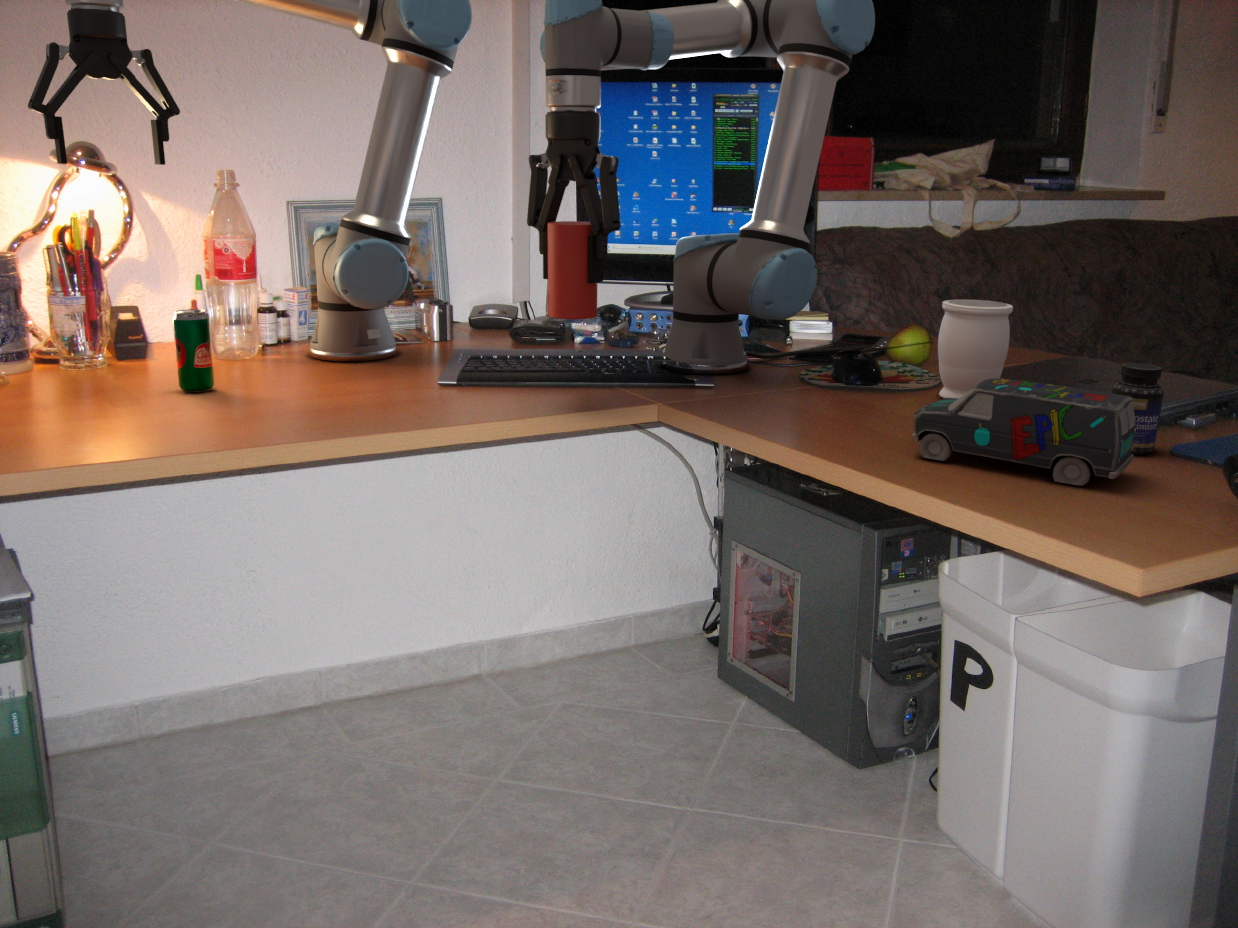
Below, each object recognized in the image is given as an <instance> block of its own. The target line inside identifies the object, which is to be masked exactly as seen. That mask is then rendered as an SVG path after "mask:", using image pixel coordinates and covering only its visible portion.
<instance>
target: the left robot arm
mask: <svg viewBox="0 0 1238 928" xmlns="http://www.w3.org/2000/svg"><path fill="white" fill-rule="evenodd" d="M232 1H234V2H237V3H241V4H245V5H249V6H253V7H257V8H261V9H265V10H269V11H272V12H276V13H280V14H284V15H287V16H292V17H296V18H301V19H304V20H308V21H311V22H316V23H319V24H324V25H328V26H331V27H336V28H339V29H343V30H346V31H350V32H351V33H352V35H353V36H354V37H355V39H357V40H360V41H365V42H368V43H372V44H374V45H379V46H381V47H380V52H381V53H382V55H383V57H384V59H385V61H386V63H387V66H386V69H385V73H384V77H383V81H382V85H381V89H380V95H379V99H378V102H377V107H376V112H375V115H374V120H373V125H372V129H371V133H370V137H369V141H368V145H367V150H366V154H365V159H364V163H363V166H362V170H361V175H360V179H359V184H358V187H357V192H356V196H355V201H354V205H353V208H352V210H351V211H349V212H347V213H346V214H344V215H342V216H341V219H340V222H339V224H331V225H330V224H329V225H322V226H318V227H316V229H315V230H314V232H313V243H312V246H313V248H314V264H315V265H314V266H315V279H316V297H317V310H318V311H317V316H316V321H315V323H314V327H313V331H312V335H311V338H310V342H309V355H310V356H311V357H312V358H314V359H317V360H323V361H331V362H366V361H376V360H382V359H387V358H390V357H394V356H395V355H396V354H397V344H396V339H395V337H394V333H393V331H392V329H391V325H390V323H389V320H388V317H387V314H386V311H385V308H386V307H388V306H390V305H392V304H394V303H395V302H396V301H397V300H398V299H399V298H400V297H401V296H402V295H403V293H404V292H405V290H406V288H407V285H408V282H409V273H410V272H409V265H408V261H407V255H408V252H409V247H410V244H411V239H412V235H411V234H410V232H409V230H408V228H407V226H406V222H407V217H408V214H409V213H408V212H409V209H410V204H411V200H412V195H413V192H414V188H415V184H416V180H417V174H418V171H419V167H420V163H421V159H422V156H423V151H424V147H425V143H426V139H427V135H428V131H429V126H430V122H431V118H432V113H433V110H434V107H435V102H436V98H437V93H438V89H439V86H440V82H441V80H442V79H444V78H446V77H447V76H449V75H451V74H452V72H453V68H454V64H455V60H456V58H457V57H456V56H457V52H458V49H459V46H460V45H461V44H462V43H463V42H464V41H465V39H466V38H467V36H468V34H469V32H470V30H471V26H472V22H473V11H472V5H471V2H470V0H232ZM65 5H67V7H70V9H68V10H67V12H66V18H67V26H68V36H69V44H68V45H63V44H58V43H57V42H56V41H54V42H49V43H47V44H46V45H45V61H44V64H43V66H42V69H41V70H40V73H39V76H38V78H37V81H36V83H35V86H34V88H33V91H32V93H31V95H30V98H29V100H28V103H27V108H28V109H29V110H30V111H33V112H36V113H39V114H41V115H42V117H43V121H44V129H45V136H46V138H47V140H54V147H55V155H56V164H57V165H59V164H60V165H68V158H67V157H68V156H67V149H66V141H65V134H64V133H65V132H64V125H63V117H62V116H60V115H59V116H56V113H57V112H58V111H59V110H60V108H61V107H62V106H63V104H64V103H65V102H66V101H67V100H68V99H69V97H70V95H71V94H72V93H73V92H74V91H75V89H76V88H77V86H78V85H79V84H80V83H81V82H82V80H84V79H85V77H87V78H89V80H90V79H91V80H98V79H104V80H110V81H114V80H117V79H119V80H120V81H121V82H123V84H125V85H126V86H127V88H128V89H129V90H130V91H131V92H132V94H134V95H135V96H136V98H138V100H139V101H140V102H141V103H142V104H143V105H144V106H145V108H147V109H148V110H149V112H151V114H152V115H153V116H154V117H155V118H156V119H150V129H151V137H152V138H151V139H152V148H153V157H154V165H158V166H159V165H161V166H165V165H166V157H165V146H164V142H166V143H168V142H169V141H170V129H169V120H170V119H171V118H172V117H176V116H178V115H180V114H181V109H180V108H179V106H178V104H177V103H176V100H175V99H174V97H173V95H172V93H171V92H170V90H169V89H168V87H167V84H166V83H165V81H164V80H163V78H162V76H161V74H160V73H159V71H158V68H157V67H156V65H155V62H154V57H153V53H152V50H151V49H149V48H144V49H143V48H142V49H140V50H131V49H130V47H129V43H128V35H127V34H128V33H127V23H126V16H125V15H124V14H123V13H122V12H121V11H122V10H124V0H65ZM67 55H68V57H69V58H70V59H71V60H72V62H73V63H74V64H75V67H73V69H72V70H71V72H70V73H69V75H68V76H67V77H66V79H64V81H63V83H61V85H60V86H59V88H58V89H57V90H56V91H55V93H54V94H53V96H51V98H50V99H49V101H48V102H47V103H46V104H44V101H45V98H46V95H47V93H48V91H49V88H50V86H51V83H52V82H53V78H54V76H55V73H56V71H57V69H58V66H59V63H60V61H63V60H64V59H65V57H66V56H67ZM132 60H134V61H135V63H136V64H137V65H138V66H141V68H142V71H143V73H144V74H145V77H146V78H147V80H148V82H149V83H150V85H151V87H152V89H153V90H154V92H155V93H156V95H157V97H158V99H159V100H160V102H161V104H162V105H161V104H160V103H159V102H158V101H157V99H155V98H154V96H153V95H152V94H151V93H150V91H148V90H147V88H146V87H144V85H143V84H142V83H141V81H139V80H138V78H137V77H136V76H135V74H134V73H133V72H132V71H131V70H130V68H128V66H129V65H130V63H131V62H132ZM163 107H164V108H163Z"/></svg>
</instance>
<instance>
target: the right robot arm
mask: <svg viewBox="0 0 1238 928" xmlns="http://www.w3.org/2000/svg"><path fill="white" fill-rule="evenodd" d="M603 5H604V4H603V1H602V0H545V4H544V21H543V26H544V29H543V31H542V33H541V35H540V40H539V50H540V55H541V59H542V60H543V62H544V67H545V69H544V70H545V106H546V108H549V111H547V112H546V114H544V115H545V119H544V120H545V121H544V122H545V129H544V130H545V138H546V140H547V146H546V149H545V152H544V153H539V154H530V155H529V157H528V163H529V164H528V165H529V169H530V179H529V189H528V191H529V192H528V204H527V214H526V215H527V216H526V225H527V226H528V227H532V228H534V229H536V230H537V231H538V252H539V255H542V279H543V280H548V222H557V218H558V216H559V212H560V208H561V205H562V201H563V198H564V195H565V192H566V189H567V187H568V186H569V184H570V182H575V183H576V186H577V188H579V190H580V193H581V196H582V200H583V204H584V207H585V210H586V214H587V217H588V220H589V221H588V222H590V224H591V227H592V231H593V232H591V233H590V234H591V235H589V236H588V283H597V284H598V283H602V282H604V259H607V257H608V255H609V254H608V253H609V252H608V247H609V235H610V234H611V233H613V232H616V231H620V230H621V228H622V225H621V224H622V223H621V214H620V203H619V202H620V201H619V190H618V181H617V179H618V178H617V173H618V167H619V162H620V159H619V157H618V156H616V155H606V154H603V153H602V152H601V150H600V147H599V141H600V139H601V115H600V113H599V112H597V109H600V108H601V107H602V72H601V71H611V70H625V69H627V70H628V69H633V70H634V69H635V70H640V71H647V70H658V69H661V68H663V67H664V66H665V65H666V64H667V63H668V62H669V61H670V60H675V59H683V58H691V57H698V56H705V55H706V56H707V55H712V54H713V55H714V54H721V55H722V56H724V57H726V58H737V57H758V58H759V57H762V58H776V61H777V63H778V64H779V66H780V67H781V69H782V71H783V73H782V77H781V83H780V87H779V92H778V96H777V97H778V98H777V101H776V105H775V109H774V110H775V111H774V114H773V119H772V124H771V129H770V132H769V138H768V142H767V143H768V144H767V147H766V151H765V155H764V160H763V165H762V170H761V174H760V179H759V183H758V188H757V193H756V198H755V202H754V207H753V211H752V216H751V220H749V222H747V223H746V224H744V225H743V226H741V227H740V228H739V231H738V232H737V233H714V234H701V235H688V236H682V237H680V238H679V239H678V240H677V241H676V243H675V249H674V258H673V259H672V261H673V281H672V282H673V283H672V284H673V287H672V288H673V289H672V321H671V326H670V329H669V332H668V334H667V337H666V338H665V339H664V342H663V343H662V344H663V345H665V346H664V348H663V349H662V350H661V356H662V355H664V356H666V357H668V358H669V359H671V360H674V361H676V362H680V363H686V364H694V365H698V366H703V367H709V368H710V369H690V368H682V367H676V366H671V365H668V364H663V365H664V366H665V367H667V368H669V369H668V370H670V369H671V370H670V371H674V372H680V373H685V374H686V373H687V374H695V375H696V374H697V375H698V374H699V375H702V374H703V375H724V374H733V373H738V372H742V371H744V370H746V369H747V367H748V357H753V358H757V359H761V360H774V359H775V360H776V359H781V358H785V357H786V358H787V357H792V356H793V357H794V356H801V355H802V356H805V355H819V354H831V353H833V354H834V353H839V352H838V351H840V350H843V349H864V348H868V347H872V346H867V345H858V346H857V347H856V346H848V347H847V346H845V347H846V348H844V347H833V348H832V349H831V348H818V350H816V349H803V350H801V349H800V350H792V351H785V352H779V353H772V354H764V353H763V354H762V353H758V352H755V351H748V350H744V342H743V337H742V333H741V328H740V315H744V316H750V317H755V318H758V319H761V320H766V321H767V320H776V321H783V320H788V319H790V318H792V317H793V318H794V317H796V315H798V313H799V312H801V311H803V309H805V307H806V306H807V305H808V303H809V302H810V301H811V299H812V297H813V295H814V293H815V290H816V288H817V287H816V286H817V282H818V268H816V266H817V265H816V260H815V259H814V257H813V256H812V254H811V253H810V252H809V248H810V244H811V241H810V239H809V238H808V236H807V235H806V233H805V231H804V228H805V224H806V219H807V214H808V210H809V206H810V202H811V197H812V193H813V189H814V188H813V187H814V183H815V179H816V174H817V170H818V165H819V162H820V158H821V157H820V156H821V153H822V147H823V144H824V139H825V135H826V130H827V126H828V121H829V117H830V112H831V108H832V104H833V98H834V94H835V92H836V91H835V90H836V86H837V82H838V81H839V80H840V79H842V78H843V77H844V76H846V75H847V74H848V73H849V72H850V68H851V63H852V58H853V55H857V54H859V53H860V52H862V51H864V50H865V49H866V47H868V46H869V44H870V43H871V41H872V39H873V36H874V32H875V26H876V12H875V7H874V2H873V0H717V1H716V2H711V3H702V4H692V5H682V6H673V7H665V8H664V7H663V8H654V9H644V10H635V9H625V8H624V9H622V8H614V7H612V8H611V7H606V6H603ZM549 167H550V168H551V169H550V172H549V170H548V168H549ZM596 167H597V169H598V170H599V171H598V172H599V173H598V174H599V175H598V176H597V175H596V170H595V169H596ZM597 177H598V178H597ZM598 180H599V181H598ZM598 184H599V187H598ZM930 340H931V341H932V338H931V337H930ZM875 345H876V344H875ZM876 346H877V345H876ZM667 368H666V369H667Z"/></svg>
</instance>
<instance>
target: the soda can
mask: <svg viewBox="0 0 1238 928" xmlns="http://www.w3.org/2000/svg"><path fill="white" fill-rule="evenodd" d="M172 328H173V337H174V348H175V356H176V357H175V358H176V367H177V368H176V369H177V376H178V377H177V379H178V387H179V388H180V389H181V391H183V392H187V393H202V392H208V391H211V390H212V389H213V388H214V386H215V376H214V375H215V374H214V365H213V353H212V341H211V331H210V318H209V316H208V315H207V313H206V310H204V309H199V308H198V309H196V308H189V309H179V310H175V311H174V316H173V317H172Z"/></svg>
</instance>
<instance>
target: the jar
mask: <svg viewBox="0 0 1238 928" xmlns="http://www.w3.org/2000/svg"><path fill="white" fill-rule="evenodd" d="M941 303H942V304H941V308H942V310H944V314H943V316H942V320H941V323H940V327H939V332H938V337H937V358H938V372H939V377H940V381H941V383H942V385H943V387H942V388H941V389H940V391H939V397H940V398H941V399H944V398H960V397H962V396H963V395H965V394H966V393H967V392H968V391H970V390H971V389H972V388H974V387H975V386H976V385H977V384H979V383H980V382H982V381H984V380H988V379H994V378H1002V377H1001V376H1002V373H1003V370H1004V365H1005V363H1006V359H1007V356H1008V352H1009V348H1010V347H1009V346H1010V338H1011V337H1010V335H1011V331H1010V330H1011V327H1010V320H1009V316H1010V315H1011V314H1012V313H1013V312H1014V306H1013V304H1009V303H1005V302H1001V301H995V300H994V301H993V300H986V299H985V300H984V299H967V298H965V299H964V298H963V299H948V300H942V302H941Z"/></svg>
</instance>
